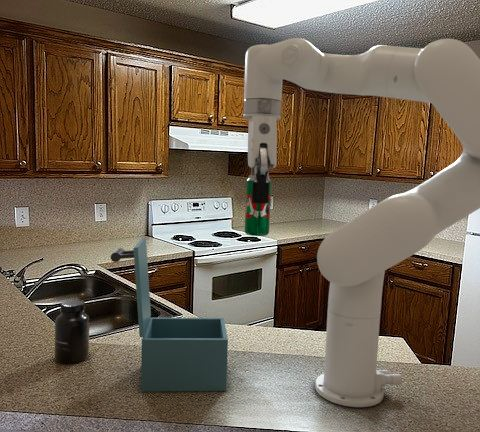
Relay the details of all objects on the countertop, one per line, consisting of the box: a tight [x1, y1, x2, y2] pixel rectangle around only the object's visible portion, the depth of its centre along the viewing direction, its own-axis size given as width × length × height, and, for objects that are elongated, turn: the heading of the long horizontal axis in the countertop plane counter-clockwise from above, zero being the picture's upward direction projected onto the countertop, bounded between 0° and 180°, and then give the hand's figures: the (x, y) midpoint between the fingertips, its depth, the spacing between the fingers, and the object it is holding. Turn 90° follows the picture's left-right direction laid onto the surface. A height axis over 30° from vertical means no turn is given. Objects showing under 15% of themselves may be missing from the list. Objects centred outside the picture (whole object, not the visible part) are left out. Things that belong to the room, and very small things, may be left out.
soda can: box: [243, 174, 272, 237], centre depth 92 cm, size 5×5×12 cm
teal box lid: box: [110, 237, 152, 338], centre depth 87 cm, size 16×13×6 cm
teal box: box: [140, 317, 229, 393], centre depth 89 cm, size 16×13×10 cm
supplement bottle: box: [54, 299, 90, 365], centre depth 95 cm, size 7×7×12 cm
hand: (258, 201), depth 92 cm, fingers closed on soda can, 5 cm apart
